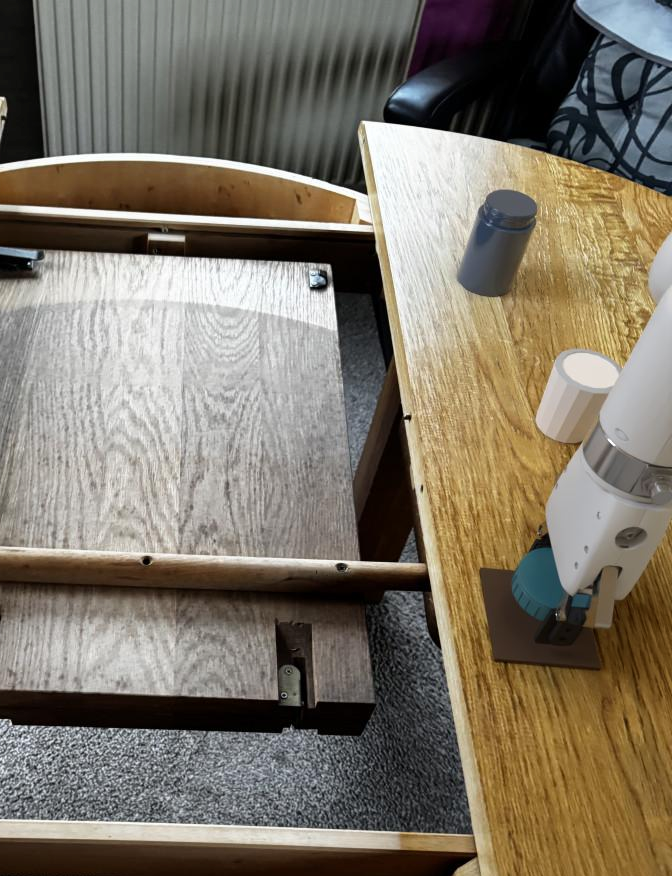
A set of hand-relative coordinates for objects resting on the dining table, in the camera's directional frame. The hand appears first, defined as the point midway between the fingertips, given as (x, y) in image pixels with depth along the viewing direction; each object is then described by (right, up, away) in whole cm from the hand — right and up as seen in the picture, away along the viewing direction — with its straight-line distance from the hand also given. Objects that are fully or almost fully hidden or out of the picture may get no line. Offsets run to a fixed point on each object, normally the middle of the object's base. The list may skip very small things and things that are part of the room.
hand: (544, 605), depth 79 cm
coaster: (0, -1, +2) cm, 2 cm away
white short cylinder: (+8, +19, +17) cm, 27 cm away
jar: (+5, +40, +32) cm, 51 cm away
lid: (0, +2, -3) cm, 3 cm away
